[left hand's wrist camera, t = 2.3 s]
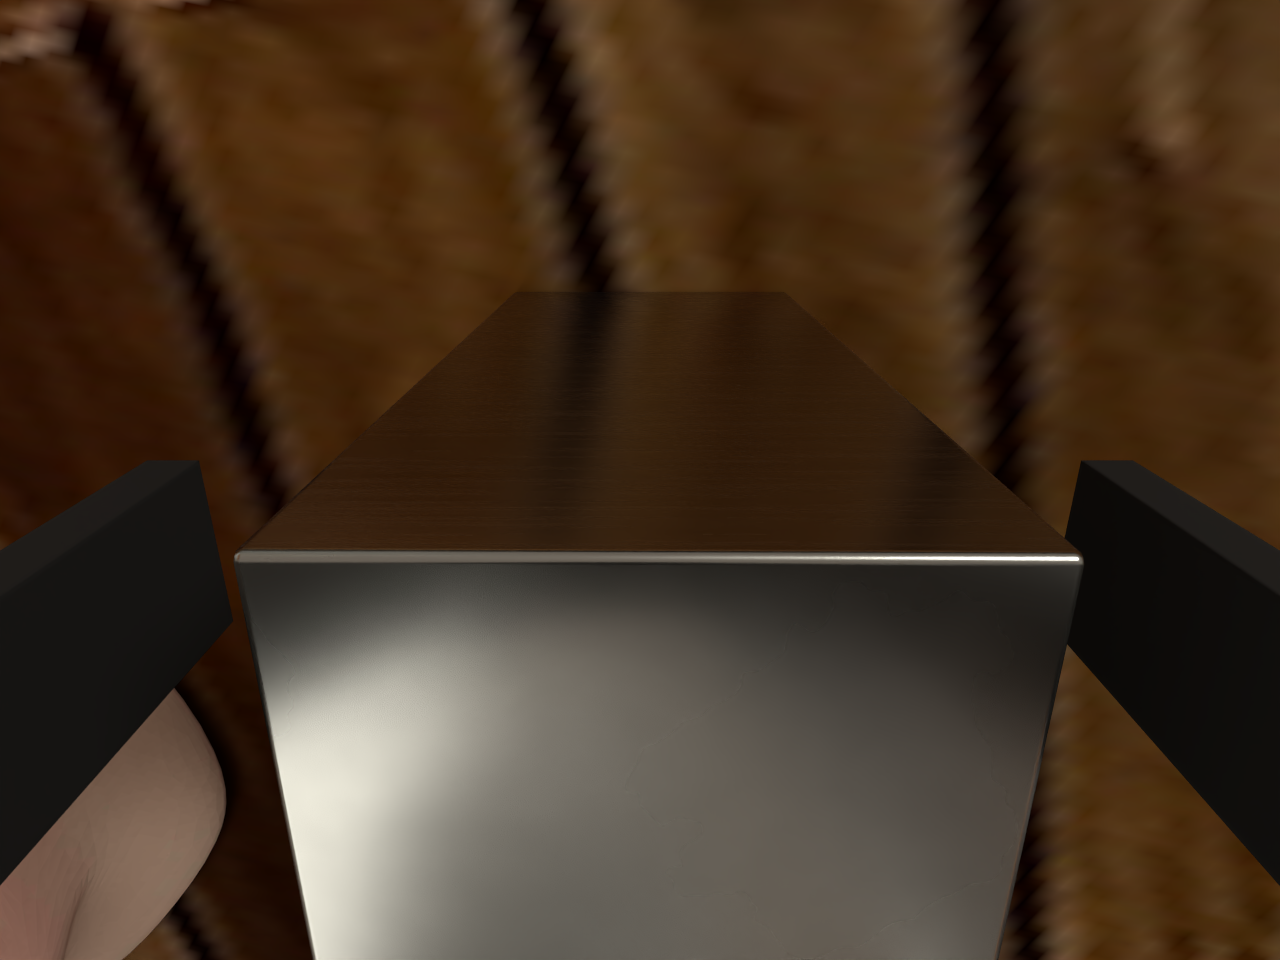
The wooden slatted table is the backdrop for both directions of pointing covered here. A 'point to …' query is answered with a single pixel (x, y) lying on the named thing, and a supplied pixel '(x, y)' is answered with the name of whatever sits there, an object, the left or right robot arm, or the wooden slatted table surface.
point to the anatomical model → (119, 847)
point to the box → (656, 652)
